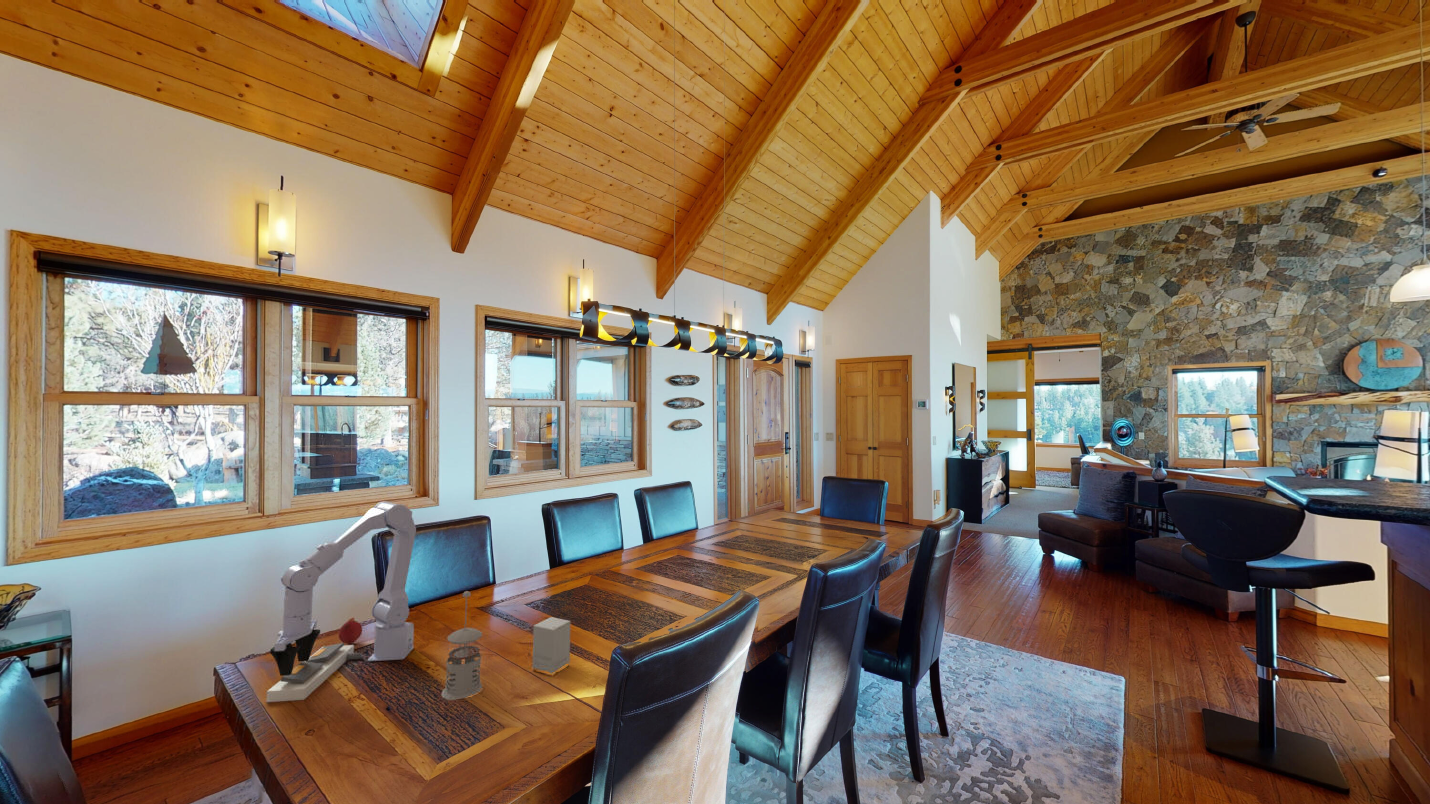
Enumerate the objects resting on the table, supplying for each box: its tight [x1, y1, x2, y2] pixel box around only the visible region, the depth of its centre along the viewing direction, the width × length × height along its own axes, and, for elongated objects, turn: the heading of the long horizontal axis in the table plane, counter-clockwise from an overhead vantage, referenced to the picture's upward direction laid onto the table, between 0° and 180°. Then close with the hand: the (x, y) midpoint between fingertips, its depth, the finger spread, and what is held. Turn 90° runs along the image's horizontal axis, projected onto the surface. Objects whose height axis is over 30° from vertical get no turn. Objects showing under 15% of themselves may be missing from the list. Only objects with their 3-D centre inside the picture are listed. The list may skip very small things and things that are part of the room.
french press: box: [440, 590, 483, 701], centre depth 135 cm, size 10×12×25 cm
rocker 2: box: [306, 642, 345, 662], centre depth 144 cm, size 5×9×1 cm, turn 12°
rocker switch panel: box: [265, 644, 363, 703], centre depth 139 cm, size 12×25×3 cm, turn 11°
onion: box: [338, 617, 363, 645], centre depth 158 cm, size 6×6×8 cm
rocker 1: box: [280, 661, 323, 683], centre depth 133 cm, size 5×9×1 cm, turn 11°
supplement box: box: [532, 616, 571, 673], centre depth 146 cm, size 7×7×13 cm
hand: (294, 667), depth 133 cm, fingers open, 7 cm apart
